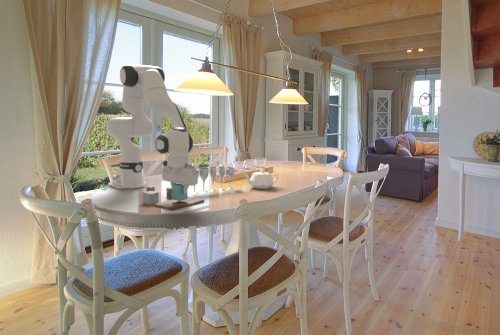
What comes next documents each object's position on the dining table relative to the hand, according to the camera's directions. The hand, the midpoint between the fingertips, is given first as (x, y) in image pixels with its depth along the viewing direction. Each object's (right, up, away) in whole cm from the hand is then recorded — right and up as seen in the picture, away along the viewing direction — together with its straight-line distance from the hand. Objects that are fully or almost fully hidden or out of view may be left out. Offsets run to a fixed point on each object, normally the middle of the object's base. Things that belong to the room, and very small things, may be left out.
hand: (179, 192), depth 160 cm
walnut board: (0, -5, +1) cm, 5 cm away
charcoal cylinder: (-17, -3, +13) cm, 22 cm away
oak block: (-6, -4, +13) cm, 15 cm away
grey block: (-14, -5, +2) cm, 15 cm away
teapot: (+39, 0, +42) cm, 57 cm away
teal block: (0, -3, 0) cm, 3 cm away
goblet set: (+12, -1, +31) cm, 33 cm away
